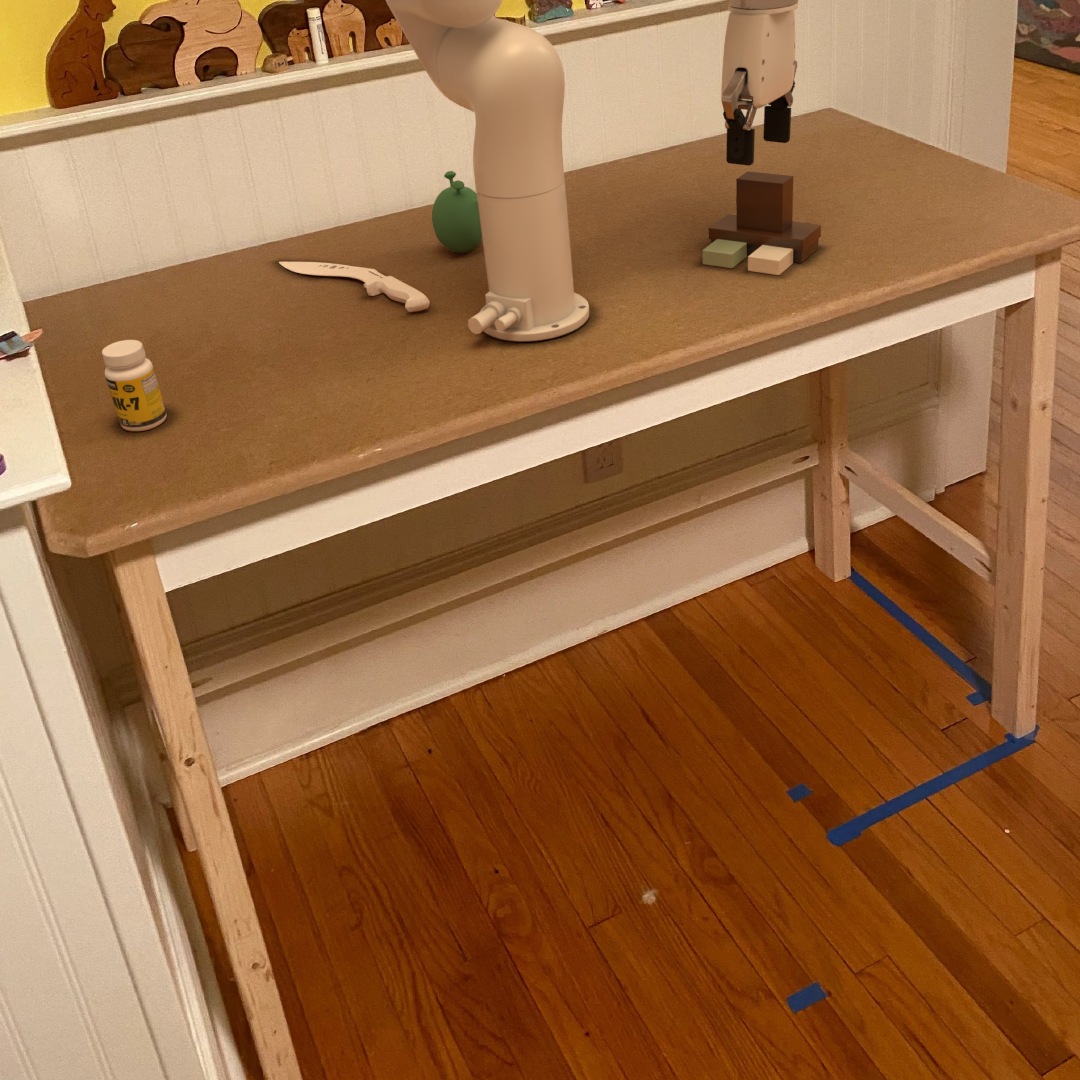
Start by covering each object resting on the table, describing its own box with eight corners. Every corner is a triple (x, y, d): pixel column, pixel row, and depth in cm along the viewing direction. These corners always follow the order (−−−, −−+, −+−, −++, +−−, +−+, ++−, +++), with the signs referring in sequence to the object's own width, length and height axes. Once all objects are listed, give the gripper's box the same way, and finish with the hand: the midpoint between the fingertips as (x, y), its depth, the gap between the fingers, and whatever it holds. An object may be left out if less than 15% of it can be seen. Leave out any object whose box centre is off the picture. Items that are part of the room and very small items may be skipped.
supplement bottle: (111, 430, 125) (87, 356, 121) (139, 409, 129) (116, 336, 124) (150, 434, 124) (126, 359, 119) (176, 413, 127) (155, 339, 123)
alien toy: (501, 253, 157) (492, 176, 152) (444, 265, 156) (432, 187, 150) (487, 237, 163) (478, 162, 157) (431, 248, 161) (420, 172, 156)
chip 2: (778, 275, 143) (779, 260, 142) (747, 270, 145) (747, 256, 144) (793, 263, 145) (793, 248, 144) (762, 259, 147) (762, 244, 146)
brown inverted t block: (802, 264, 145) (804, 189, 140) (708, 251, 151) (707, 179, 146) (820, 248, 148) (823, 175, 143) (728, 236, 154) (727, 165, 149)
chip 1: (732, 268, 146) (732, 254, 145) (702, 264, 148) (702, 250, 147) (747, 256, 148) (747, 242, 147) (717, 252, 150) (717, 238, 149)
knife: (275, 256, 162) (328, 240, 165) (278, 268, 163) (330, 251, 166) (372, 315, 139) (431, 294, 142) (375, 328, 140) (433, 307, 143)
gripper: (766, -21, 141) (761, 130, 150) (695, 7, 129) (695, 169, 139) (827, -19, 137) (818, 136, 146) (760, 10, 125) (755, 176, 135)
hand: (758, 152), depth 142 cm, fingers open, 9 cm apart
